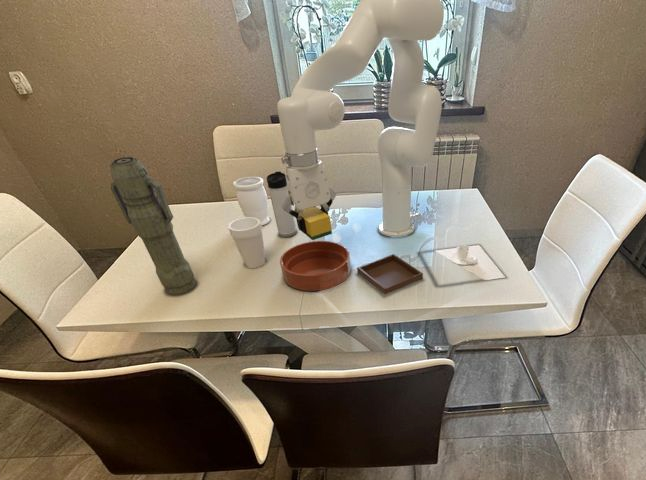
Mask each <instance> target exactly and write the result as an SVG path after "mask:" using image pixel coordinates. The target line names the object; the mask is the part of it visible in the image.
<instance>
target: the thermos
mask: <svg viewBox="0 0 646 480" xmlns="http://www.w3.org/2000/svg"><path fill="white" fill-rule="evenodd" d="M109 166H110V172H111V178H112V180H113V181H112V182H111V185H110V191H111V192H112V194H113V197H114V199H115V200H116V202H117V205H118V206H119V209H120V211H121V213H122V214H123V216H124V218H125V219H126V222H127V223H128V224H130V225H132V227H133V229H134V231H135V233H136V235H137V236H138V237H139V238H140V239H141V240H142V242H143V244H144V247H145V249H146V251H147V252H148V254H149V257H150V259H151V261H152V263H153V265H154V267H155V273H156V275H157V278H158V279H159V281H160V284H161V285H162V287H163V288H164V290H165V292H166V293H167V295H169V296H175V297H176V296H183V295H186V294H187V293H190V292H192V291H193V290H195V289H196V288H197V285H198V284H197V281H196V279H195V275H194V272H193V269H192V267H191V264H190V263H189V261H188V260H187V259H186V258H185V256H184V254H183V252H182V249H181V246H180V244H179V242H178V239H177V236H176V235H175V231H174V225H173V223H172V221H173V219H174V215H173V213H172V211H171V208H170V205H169V203H168V200H167V198H166V195H165V192H164V189H163V187H162V185H161V184H160V183H159V182H158V181H157V180H156V179H151V177H150V175H149V173H148V170H147V169H146V168H145V165H143V164H142V162H141V161H140V160H139V159H138V158H135V157H133V156H125V157H120V158H117V159H114V160H112V162H111V163H110V164H109Z"/></svg>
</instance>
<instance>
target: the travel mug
mask: <svg viewBox="0 0 646 480" xmlns="http://www.w3.org/2000/svg"><path fill="white" fill-rule="evenodd" d="M266 182H267V188H268V193H269V197H270V202H271V205H272V210H273V215H274V219H275V223H276V228H277V232H278V236H279V237H281V238H291V237H294V236H295V235H296V234H297V228H296V223H295V217H294V216H292V215H291V214H289V213H287V212H286V211H284V210H283V209H282V206H283V204H284V202H285V201H286V199H287V197H288V190H287V181H286V173H284V172H282V171H275V172H274V173H273V172H272V173H270V174H268V175H266ZM292 206H293V205H291V206H290V209H292V210H293V207H292Z"/></svg>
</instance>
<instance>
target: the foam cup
mask: <svg viewBox="0 0 646 480" xmlns="http://www.w3.org/2000/svg"><path fill="white" fill-rule="evenodd" d="M227 227H228V231H229V234H230V236H231V237H232V240H233V241H234V244H235V246H236V248H237V251H238V252H239V254H240V256H241V258H242V261H243V263H244V265H245V267H246V268H249V269H256V268H260V267H262V266H263V265H265V264H266V253H265V244H264V237H263V225H262V226H261V222H260V219H258V218H255V217H245V216H244V217H240V218H237V219H234V220H232V221H231V222H229V223H228V225H227Z"/></svg>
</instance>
